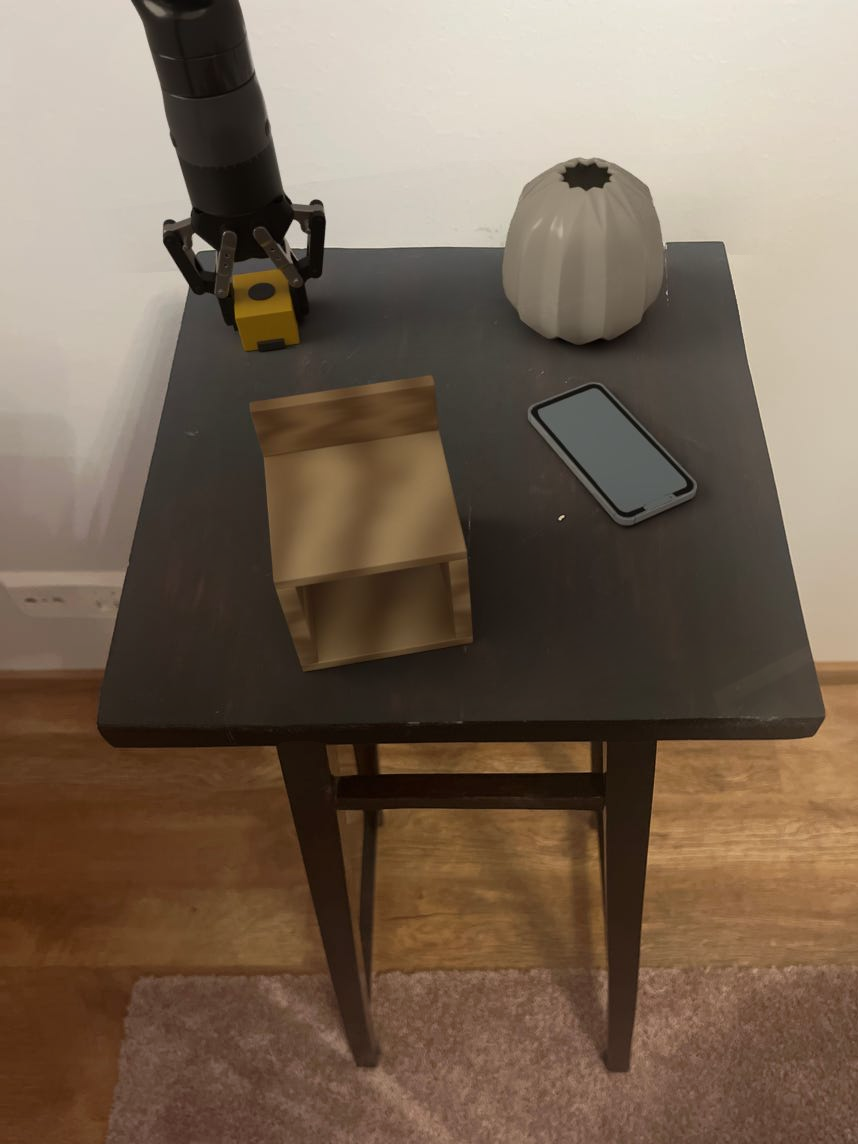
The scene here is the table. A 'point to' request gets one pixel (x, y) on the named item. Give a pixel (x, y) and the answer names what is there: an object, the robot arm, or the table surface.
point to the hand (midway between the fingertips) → (268, 320)
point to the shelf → (363, 523)
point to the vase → (583, 252)
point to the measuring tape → (264, 311)
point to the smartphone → (612, 453)
